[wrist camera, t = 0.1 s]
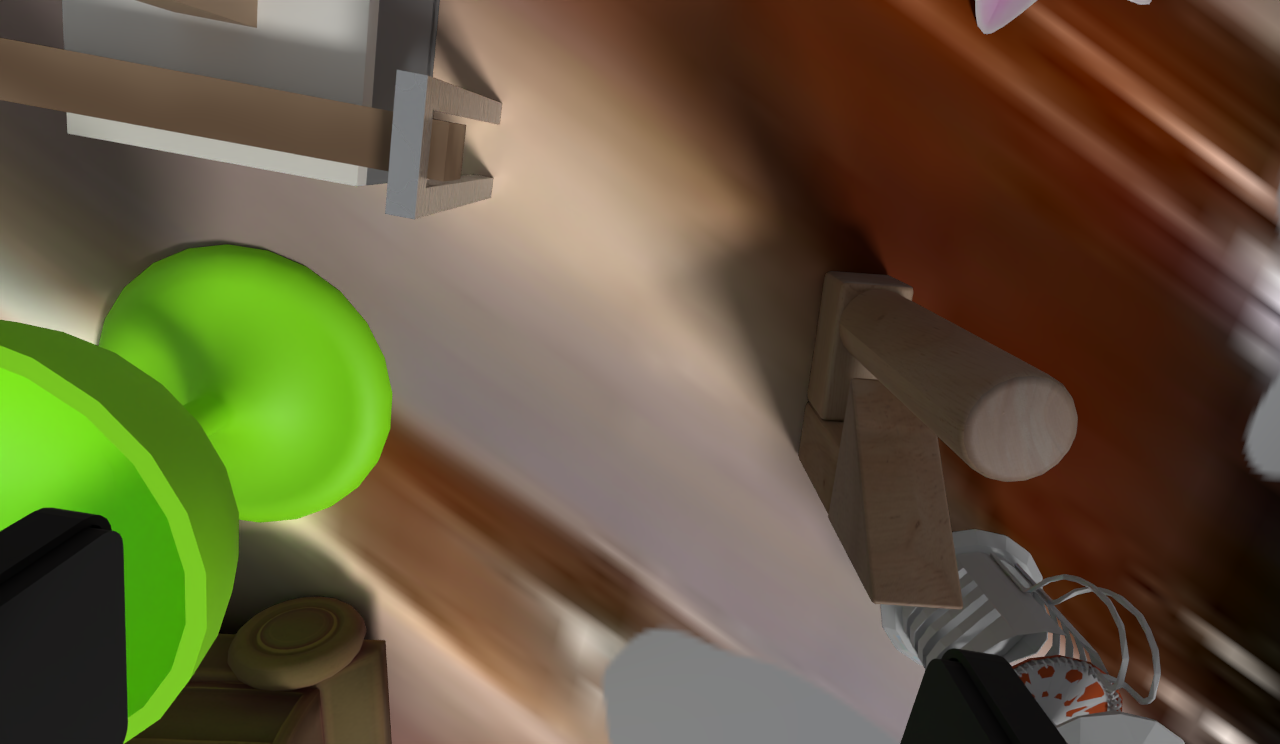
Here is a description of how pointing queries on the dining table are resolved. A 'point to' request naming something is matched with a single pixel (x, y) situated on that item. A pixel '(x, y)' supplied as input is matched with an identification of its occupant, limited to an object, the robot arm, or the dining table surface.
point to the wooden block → (915, 430)
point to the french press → (1030, 641)
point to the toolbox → (419, 112)
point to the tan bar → (213, 108)
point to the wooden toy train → (285, 683)
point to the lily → (1005, 12)
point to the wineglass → (192, 434)
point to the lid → (234, 63)
